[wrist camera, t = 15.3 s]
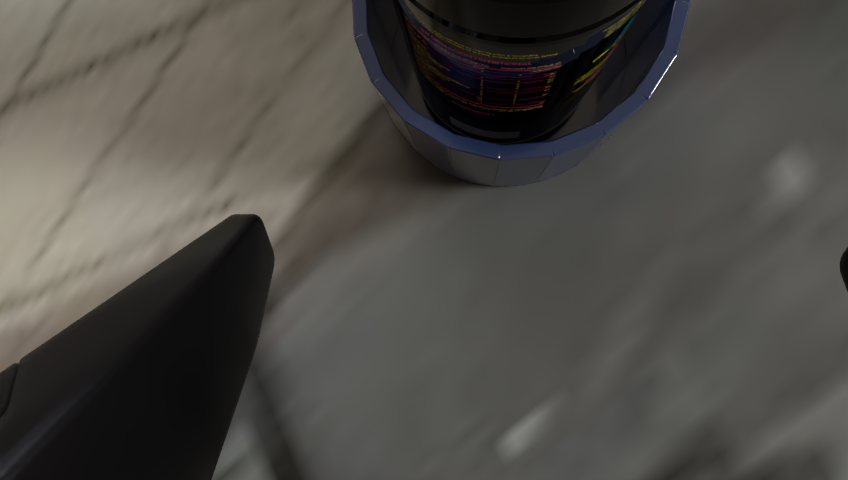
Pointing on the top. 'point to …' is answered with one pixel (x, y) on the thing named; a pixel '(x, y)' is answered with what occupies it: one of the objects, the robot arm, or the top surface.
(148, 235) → the top surface
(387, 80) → the blue rimmed bowl
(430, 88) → the supplement container
